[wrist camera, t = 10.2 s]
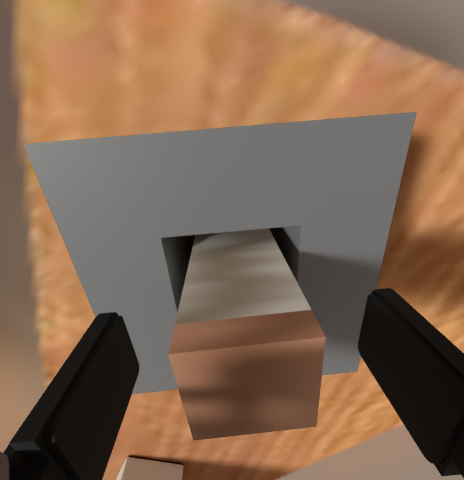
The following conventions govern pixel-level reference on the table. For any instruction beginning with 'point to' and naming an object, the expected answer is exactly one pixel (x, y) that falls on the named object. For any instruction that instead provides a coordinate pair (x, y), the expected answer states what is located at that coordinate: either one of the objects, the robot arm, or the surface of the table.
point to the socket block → (227, 217)
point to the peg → (245, 339)
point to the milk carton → (149, 470)
